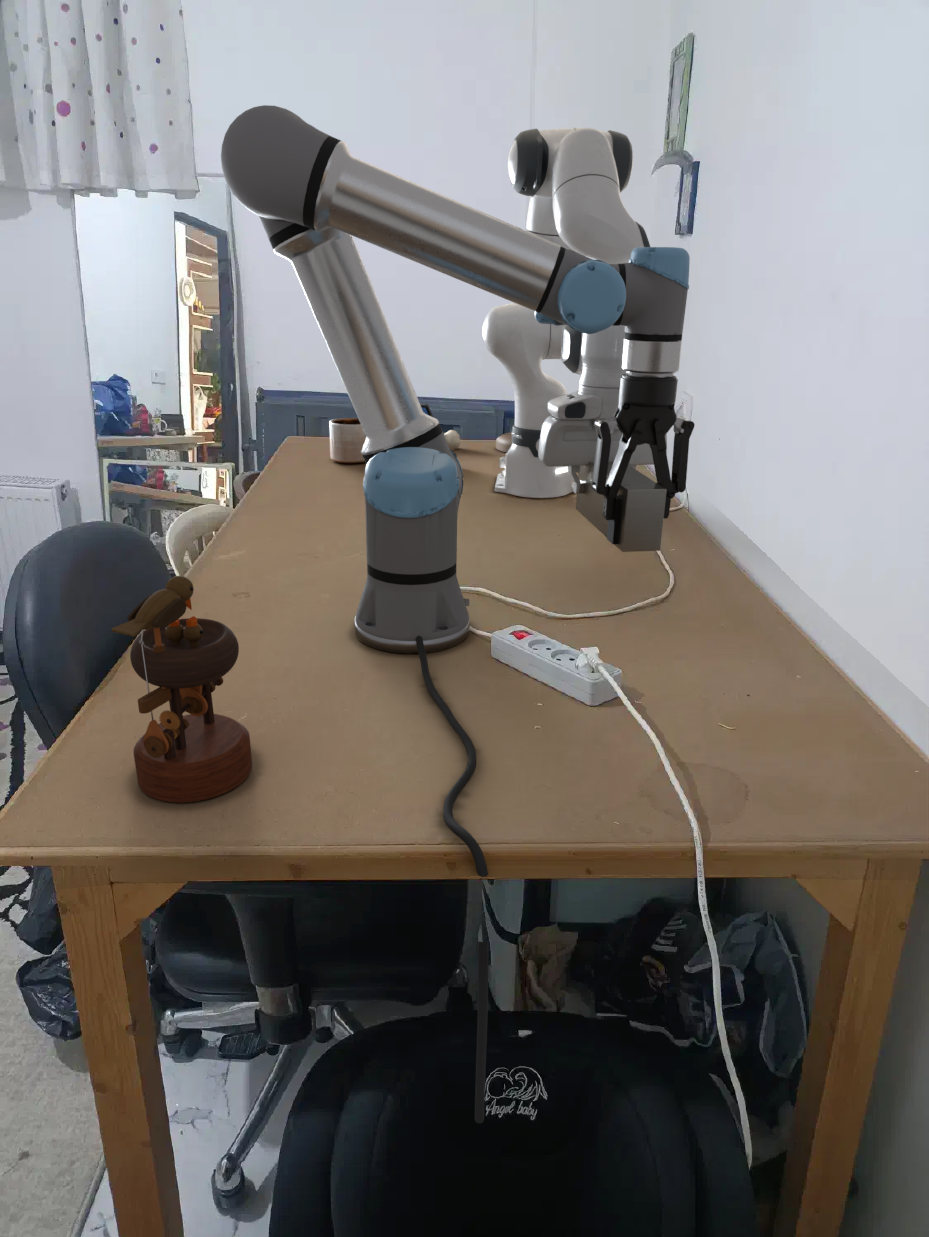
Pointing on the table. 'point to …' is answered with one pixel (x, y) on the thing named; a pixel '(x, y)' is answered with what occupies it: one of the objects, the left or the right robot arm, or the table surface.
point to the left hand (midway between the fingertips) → (633, 540)
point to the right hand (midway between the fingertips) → (599, 492)
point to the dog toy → (452, 439)
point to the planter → (346, 440)
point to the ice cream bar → (504, 442)
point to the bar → (627, 509)
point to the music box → (184, 700)
